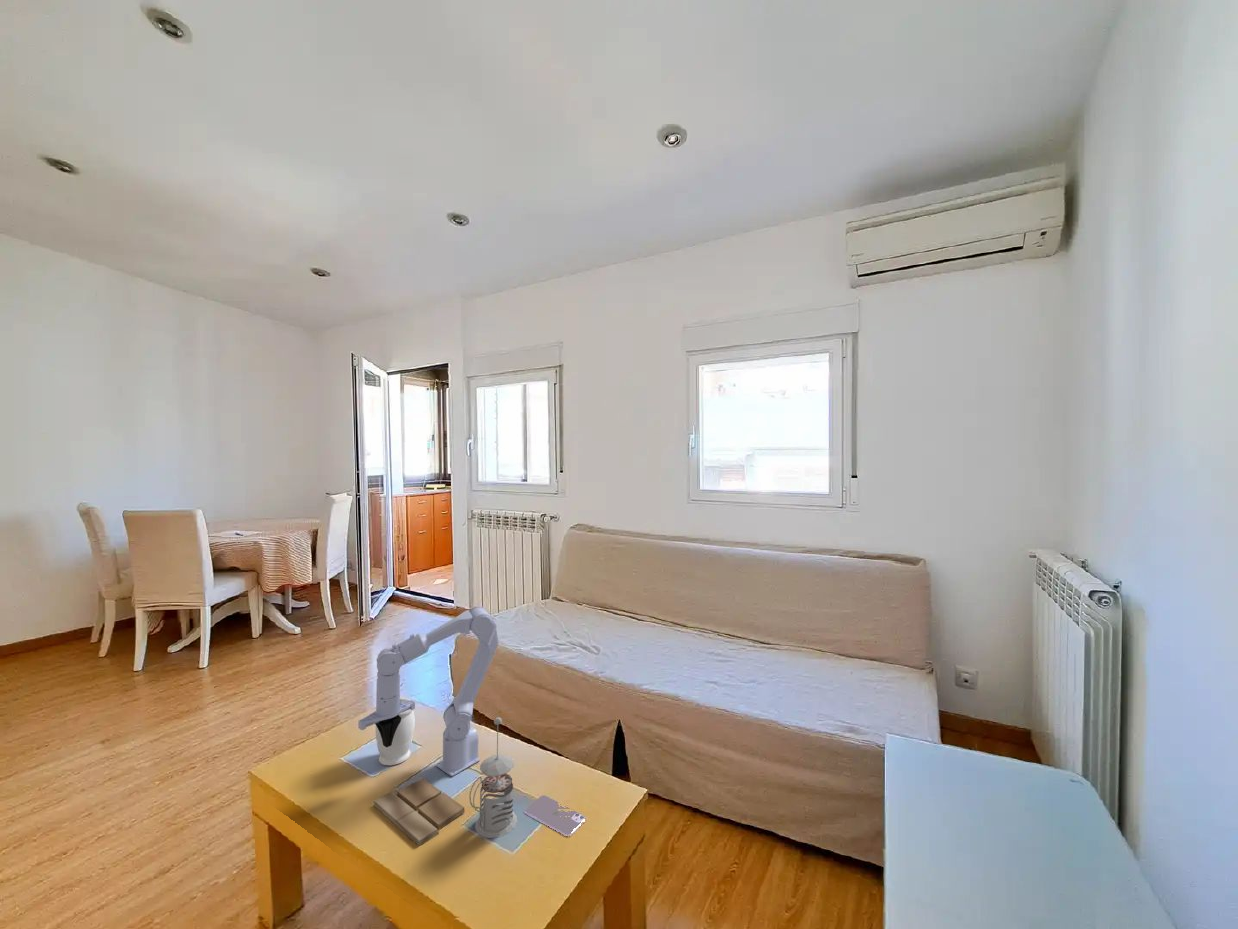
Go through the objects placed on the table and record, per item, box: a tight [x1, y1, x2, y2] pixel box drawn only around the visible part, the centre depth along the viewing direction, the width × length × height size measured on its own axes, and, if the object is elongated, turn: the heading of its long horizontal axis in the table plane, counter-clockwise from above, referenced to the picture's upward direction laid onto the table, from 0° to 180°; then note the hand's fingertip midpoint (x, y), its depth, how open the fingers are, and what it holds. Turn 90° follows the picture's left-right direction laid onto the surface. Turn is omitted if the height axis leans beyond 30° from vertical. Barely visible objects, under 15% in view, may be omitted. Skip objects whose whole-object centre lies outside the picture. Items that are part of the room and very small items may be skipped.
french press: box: [468, 716, 518, 839], centre depth 115 cm, size 10×12×25 cm
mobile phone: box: [523, 794, 587, 836], centre depth 118 cm, size 8×1×15 cm
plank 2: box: [417, 792, 465, 831], centre depth 118 cm, size 7×9×1 cm
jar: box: [375, 697, 416, 766], centre depth 140 cm, size 11×10×15 cm
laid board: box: [373, 791, 440, 847], centre depth 116 cm, size 5×21×1 cm, turn 53°
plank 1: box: [396, 777, 442, 812], centre depth 124 cm, size 7×9×1 cm
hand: (387, 745), depth 129 cm, fingers closed
